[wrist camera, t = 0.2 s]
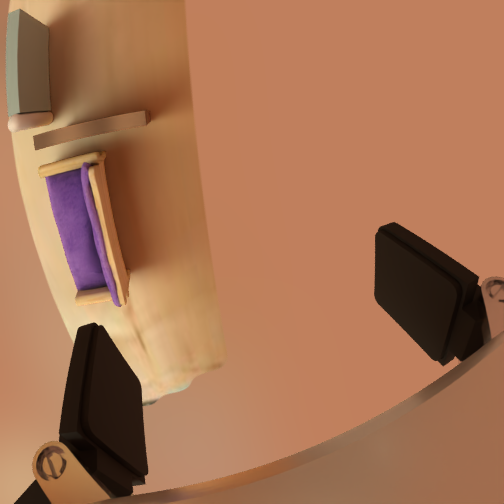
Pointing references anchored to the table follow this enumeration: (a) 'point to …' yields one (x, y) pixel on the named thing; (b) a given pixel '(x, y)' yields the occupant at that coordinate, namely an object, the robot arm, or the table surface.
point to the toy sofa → (87, 227)
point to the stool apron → (91, 128)
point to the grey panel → (27, 72)
